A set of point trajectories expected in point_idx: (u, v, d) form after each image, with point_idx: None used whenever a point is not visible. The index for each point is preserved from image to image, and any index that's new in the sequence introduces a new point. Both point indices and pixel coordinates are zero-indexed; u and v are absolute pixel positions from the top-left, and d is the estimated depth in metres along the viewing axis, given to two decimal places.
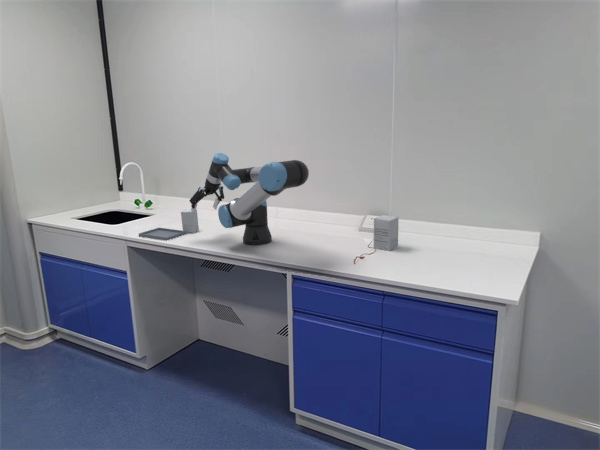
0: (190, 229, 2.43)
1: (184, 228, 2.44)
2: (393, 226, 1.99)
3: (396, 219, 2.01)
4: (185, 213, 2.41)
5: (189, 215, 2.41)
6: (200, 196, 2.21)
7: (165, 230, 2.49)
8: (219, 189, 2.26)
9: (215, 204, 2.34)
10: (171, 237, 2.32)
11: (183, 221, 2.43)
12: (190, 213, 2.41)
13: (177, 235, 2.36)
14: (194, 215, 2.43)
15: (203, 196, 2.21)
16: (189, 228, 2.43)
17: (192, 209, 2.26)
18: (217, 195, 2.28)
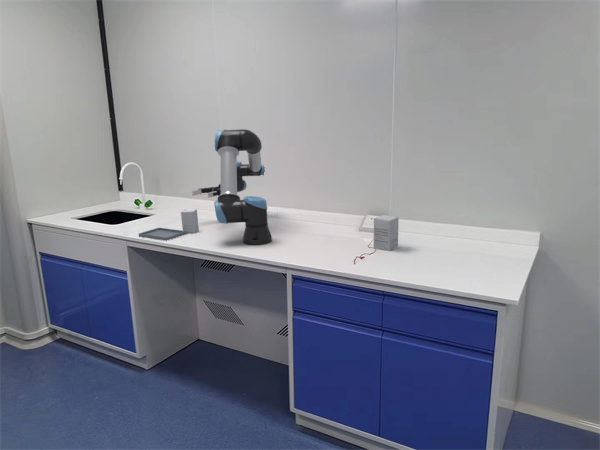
0: (190, 229, 2.43)
1: (184, 228, 2.44)
2: (393, 226, 1.99)
3: (396, 219, 2.01)
4: (185, 213, 2.41)
5: (189, 215, 2.41)
6: None
7: (165, 230, 2.49)
8: None
9: None
10: (171, 237, 2.32)
11: (183, 221, 2.43)
12: (190, 213, 2.41)
13: (177, 235, 2.36)
14: (194, 215, 2.43)
15: (210, 188, 2.61)
16: (189, 228, 2.43)
17: None
18: (219, 190, 2.55)
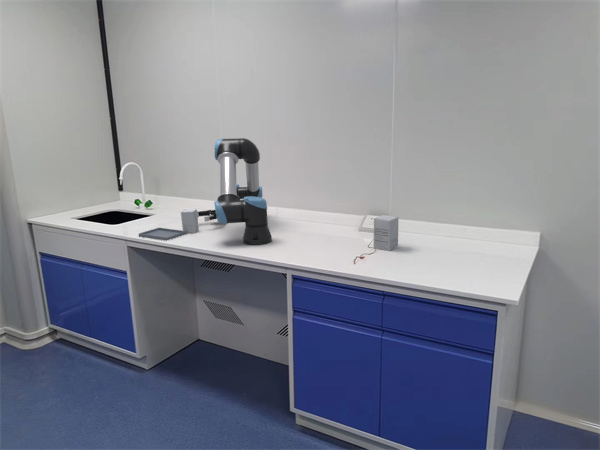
0: (190, 229, 2.43)
1: (184, 228, 2.44)
2: (393, 226, 1.99)
3: (396, 219, 2.01)
4: (185, 213, 2.41)
5: (189, 215, 2.41)
6: None
7: (165, 230, 2.49)
8: None
9: None
10: (171, 237, 2.32)
11: (183, 221, 2.43)
12: (190, 213, 2.41)
13: (177, 235, 2.36)
14: (194, 215, 2.43)
15: (207, 211, 2.62)
16: (189, 228, 2.43)
17: None
18: (216, 213, 2.56)
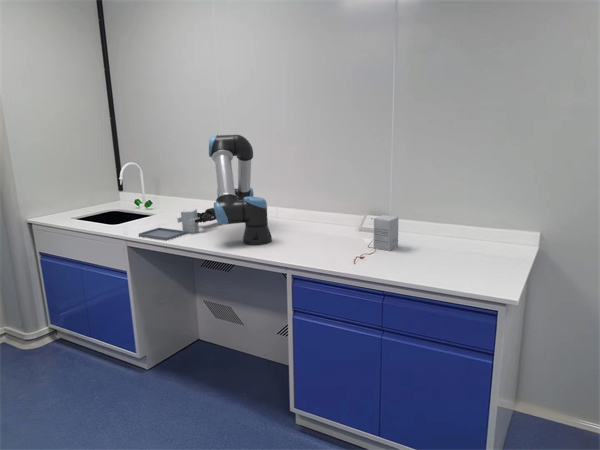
0: (190, 229, 2.43)
1: (184, 228, 2.43)
2: (393, 226, 1.99)
3: (396, 219, 2.01)
4: (185, 213, 2.41)
5: (189, 215, 2.41)
6: None
7: (165, 230, 2.49)
8: None
9: None
10: (171, 237, 2.32)
11: (183, 221, 2.43)
12: (190, 213, 2.41)
13: (177, 235, 2.36)
14: (194, 215, 2.43)
15: None
16: (189, 228, 2.43)
17: None
18: (203, 216, 2.49)
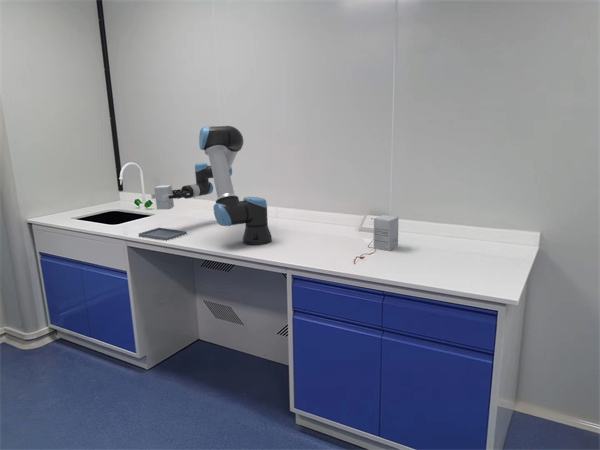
0: (164, 205, 2.35)
1: (158, 204, 2.36)
2: (393, 226, 1.99)
3: (396, 219, 2.01)
4: (159, 188, 2.34)
5: (163, 191, 2.34)
6: None
7: (165, 230, 2.49)
8: None
9: None
10: (171, 237, 2.32)
11: (157, 197, 2.35)
12: (164, 188, 2.33)
13: (177, 235, 2.36)
14: (168, 191, 2.35)
15: (172, 191, 2.46)
16: (163, 204, 2.35)
17: None
18: (178, 192, 2.41)
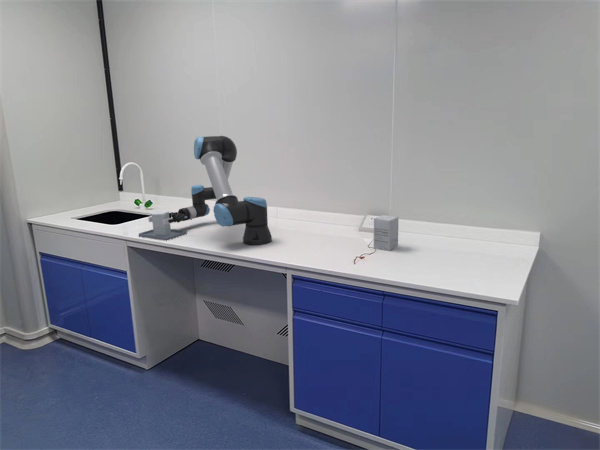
0: (161, 231, 2.37)
1: (155, 231, 2.37)
2: (393, 226, 1.99)
3: (396, 219, 2.01)
4: (156, 215, 2.35)
5: (160, 217, 2.35)
6: None
7: None
8: None
9: None
10: (171, 237, 2.32)
11: (154, 224, 2.36)
12: (161, 215, 2.35)
13: (177, 235, 2.36)
14: (165, 217, 2.36)
15: None
16: (160, 231, 2.37)
17: None
18: (176, 216, 2.42)
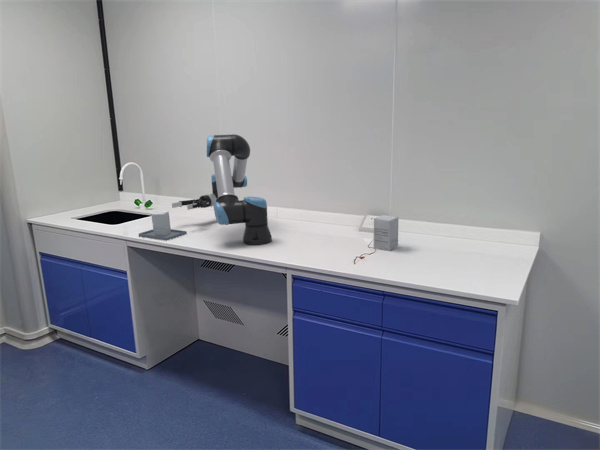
0: (161, 231, 2.37)
1: (155, 231, 2.37)
2: (393, 226, 1.99)
3: (396, 219, 2.01)
4: (156, 215, 2.35)
5: (160, 217, 2.35)
6: None
7: None
8: None
9: None
10: (171, 237, 2.32)
11: (154, 224, 2.36)
12: (161, 215, 2.35)
13: (177, 235, 2.36)
14: (165, 217, 2.36)
15: (190, 200, 2.58)
16: (160, 231, 2.37)
17: None
18: (199, 202, 2.52)
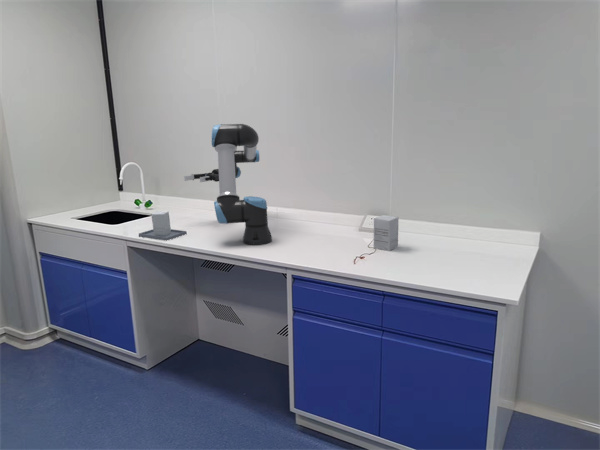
0: (161, 231, 2.37)
1: (155, 231, 2.37)
2: (393, 226, 1.99)
3: (396, 219, 2.01)
4: (156, 215, 2.35)
5: (160, 217, 2.35)
6: None
7: None
8: None
9: None
10: (171, 237, 2.32)
11: (154, 224, 2.36)
12: (161, 215, 2.35)
13: (177, 235, 2.36)
14: (165, 217, 2.36)
15: (203, 174, 2.56)
16: (160, 231, 2.37)
17: None
18: (211, 175, 2.50)
